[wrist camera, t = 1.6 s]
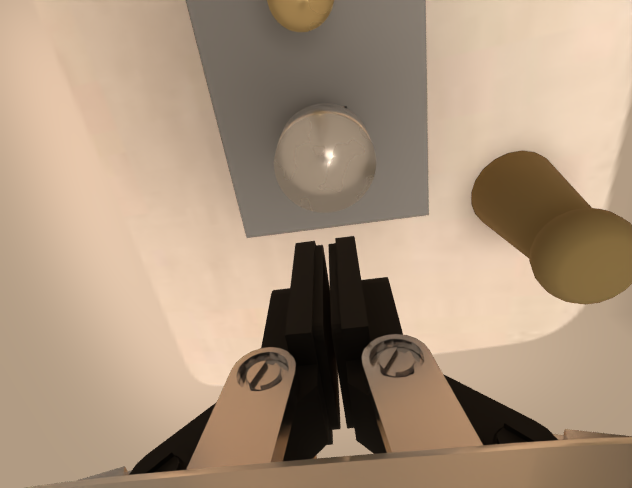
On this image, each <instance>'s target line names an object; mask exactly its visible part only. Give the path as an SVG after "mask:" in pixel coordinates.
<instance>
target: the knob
mask: <svg viewBox="0 0 632 488" xmlns="http://www.w3.org/2000/svg"><path fill="white" fill-rule="evenodd" d="M274 170H275V175H276V179H277V182H278V184H279V186H280V188H281V189H282V191H283V192H284V194H285V195H286V196H287V197H288V198H289V199H290V200H291V201H292V202H294V203H295V204H297V205H298V206H300V207H302V208H304V209H307V210H310V211H314V212H321V213H328V212H336V211H340V210H343V209H345V208H347V207H350V206H351V205H353V204H354V203H356V202H357V201H358V200H360V199H361V198H362V197H363V196H364V194H365V193H366V192H367V190H368V189H369V187H370V185H371V184H372V181H373V179H374V175H375V171H376V155H375V151H374V147H373V144H372V142H371V139H370V137H369V135H368V132H367V130H366V128H365V126H364V124H363V123H362V121H361V120H360V119H359V118H358V117H357V116H356V115H355V114H354V113H353V112H351V111H350V110H348V109H346V108H344V107H342V106H339V105H336V104H331V103H320V104H314V105H310V106H308V107H305V108H303V109H301V110H300V111H298V112H297V113H296V114H294V115H293V116H292V117H291V118H290V119H289V121H288V122H287V123H286V125H285V127H284V128H283V130H282V133H281V136H280V139H279V142H278V145H277V148H276V152H275V157H274Z"/></svg>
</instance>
